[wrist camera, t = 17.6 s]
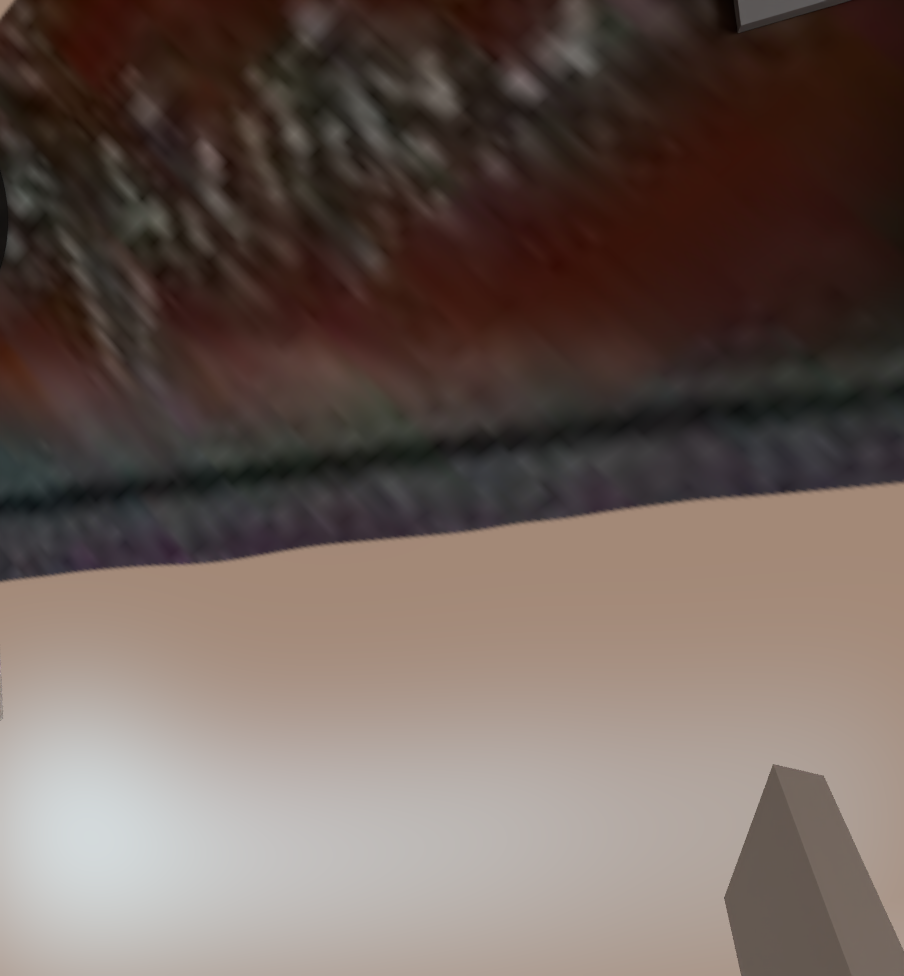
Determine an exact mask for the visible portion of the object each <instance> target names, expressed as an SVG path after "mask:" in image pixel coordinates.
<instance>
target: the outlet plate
mask: <svg viewBox="0 0 904 976" xmlns="http://www.w3.org/2000/svg"><path fill="white" fill-rule="evenodd" d="M847 1H850V0H734V8H735V16H736V23H737V31H738V33H740V32H744V31H747V30H750V29H754V28H757V27H761V26H764V25H768V24H771V23H775V22H778V21H781V20H785V19H788V18H792V17H795V16H799V15H802V14H806V13H809V12H813V11H816V10H819V9H823V8H826V7H830V6H833V5H837V4H840V3H844V2H847Z"/></svg>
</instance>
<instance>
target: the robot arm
mask: <svg viewBox="0 0 904 976" xmlns="http://www.w3.org/2000/svg"><path fill="white" fill-rule="evenodd" d="M7 230H8V213H7V201H6V194H5V188H4V184H3V179H2V176H1V172H0V267H1V264H2V260H3V257H4V252H5V247H6V241H7ZM2 719H3V705H2V685H1V661H0V721H1V720H2ZM724 899H725V904H726V908H727V913H728V917H729V922H730V926H731V931H732V935H733V940H734V944H735V949H736V953H737V958H738V962H739V967H740V971H741V975H742V976H904V951H903V948H902V947H901V944H900V942H899V940H898V938H897V935H896V933H895V931H894V929H893V926H892V924H891V922H890V920H889V918H888V915H887V913H886V911H885V909H884V907H883V905H882V902H881V900H880V898H879V896H878V894H877V891H876V889H875V887H874V885H873V883H872V880H871V878H870V876H869V874H868V872H867V870H866V867H865V866H864V863H863V861H862V859H861V857H860V854H859V852H858V850H857V848H856V845H855V843H854V841H853V839H852V837H851V835H850V832H849V830H848V828H847V826H846V824H845V822H844V819H843V817H842V815H841V813H840V811H839V808H838V806H837V804H836V802H835V799H834V797H833V795H832V793H831V791H830V789H829V787H828V784H827V782H826V780H825V778H824V776H822V775H818V774H813V773H809V772H805V771H801V770H796V769H792V768H787V767H783V766H779V765H774V764H773V766H772V769H771V772H770V774H769V777H768V780H767V783H766V785H765V788H764V791H763V794H762V796H761V799H760V802H759V804H758V807H757V810H756V813H755V815H754V818H753V821H752V823H751V826H750V829H749V832H748V834H747V837H746V840H745V843H744V845H743V848H742V851H741V854H740V856H739V859H738V862H737V864H736V867H735V870H734V873H733V875H732V878H731V881H730V884H729V886H728V889H727V892H726V894H725V897H724Z"/></svg>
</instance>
